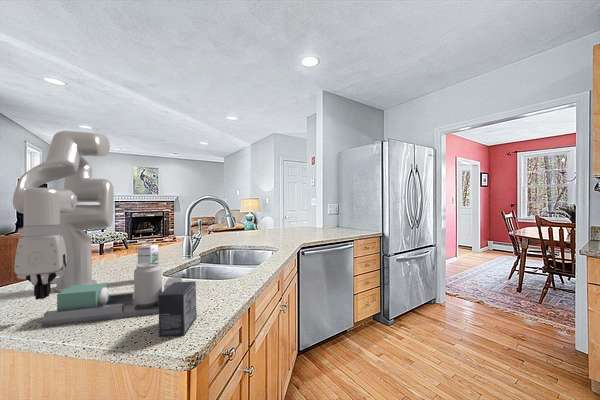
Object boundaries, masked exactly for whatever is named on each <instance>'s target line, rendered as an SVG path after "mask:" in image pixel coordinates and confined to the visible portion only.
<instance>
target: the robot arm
mask: <svg viewBox="0 0 600 400" xmlns="http://www.w3.org/2000/svg"><path fill="white" fill-rule="evenodd" d="M110 149H111V143H110V139H109V138H108V137H107V135H105V134H100V133H95V132H88V131H87V132H84V131H72V130H71V131H70V130H62V131H57V132H56V133H54V135H53V137H52V139H51V142H50V146H49V148H48V152H47V155H46V158H45V161H44V162H41V163H39V164H37V165H35V166H34V167H32V168H30V169H29V170H27V171H26V172H25V173H23V174H22V175H21V176H20V178H19V179H18V181H17V184H16V187H15V189H14V192H13V196H12V206H13V209H15V211H16V212H18V213H19V214H23V226H22V228H18V229H17V233H18V234H22V236H23V237H20V238H19V239H18V242H17V245H16V250H15V258H14V265H13V266H14V269H13V270H14V273H15V275H16V278H17V279H20V280H26V281H27V280H28V282H30V283H31V285H32V286H33V296H35V300H37V301H38V300H44V299H46V298H48V297H49V296H50V294H51V292H52V291H51V285H56V286H55V287H54V291H55V292H57V293H60V292H62V291H64V290H65V289H67V288H69V287H70V286H75V285H87V284H98V282H97V280H96V279H93V278H92V277H93V276H92V275H93V273H92V270H93V268H92V266H93V265H92V264H93V263H92V258H93V257H92V256H93V255H92V254H93V253H92V250H93V249H92V239H91V236H89V235H88V233H87V232H85V230H98V229H99V230H100V229H101V230H102V229H108V228H110V227H111V226H112V224H113V220H114V195H115V194H114V193H115V192H114V186H113V183H112V182H111V180H109V179H105V178H93V167H92V165H91V164H90V163H89V161H87V159H85V158H84V157H104V156H107V155H108V154H109V152H110ZM83 156H84V157H83ZM61 179H63V180H64V181H63V182H64V184H63V188H51V187H40V186H42V185H44V184H47V183H50V182H55V181H58V180H61ZM78 203H98V204H78Z"/></svg>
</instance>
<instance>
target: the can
mask: <svg viewBox="0 0 600 400" xmlns="http://www.w3.org/2000/svg"><path fill="white" fill-rule="evenodd" d="M162 269H163V268H162V266H160V262H158V263H157V262H148V263H142V264H138V263H137V264H136V268H135V269H134V270H133V292H134V303H135V304H137V305H138V306H149V305H153V304H156V303H158V302H159V300H158V295H159V294H160V293H161V292H163V288H162V286H163V284H162V283H163V282H162V281H163V279H162V276H163V275H162V274H163V272H162V271H163V270H162Z"/></svg>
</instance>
